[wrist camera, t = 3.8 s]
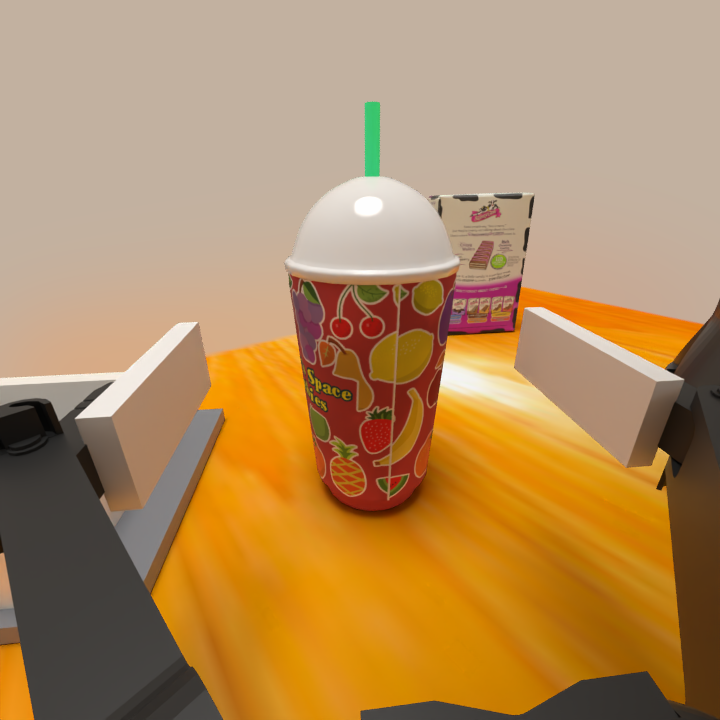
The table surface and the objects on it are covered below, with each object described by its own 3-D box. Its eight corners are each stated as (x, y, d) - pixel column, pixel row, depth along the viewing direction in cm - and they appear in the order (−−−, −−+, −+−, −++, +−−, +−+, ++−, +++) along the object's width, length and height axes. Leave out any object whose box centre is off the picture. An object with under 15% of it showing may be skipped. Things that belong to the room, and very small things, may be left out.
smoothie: (292, 455, 26) (255, 115, 18) (399, 428, 29) (410, 124, 20) (330, 553, 19) (298, 62, 11) (466, 504, 22) (525, 87, 13)
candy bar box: (497, 320, 52) (516, 192, 46) (515, 332, 48) (538, 192, 41) (420, 324, 51) (427, 194, 45) (430, 336, 47) (440, 194, 40)
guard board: (224, 419, 30) (214, 363, 28) (134, 630, 16) (98, 546, 13) (-43, 435, 28) (-75, 377, 26) (-423, 688, 14) (-560, 602, 12)
